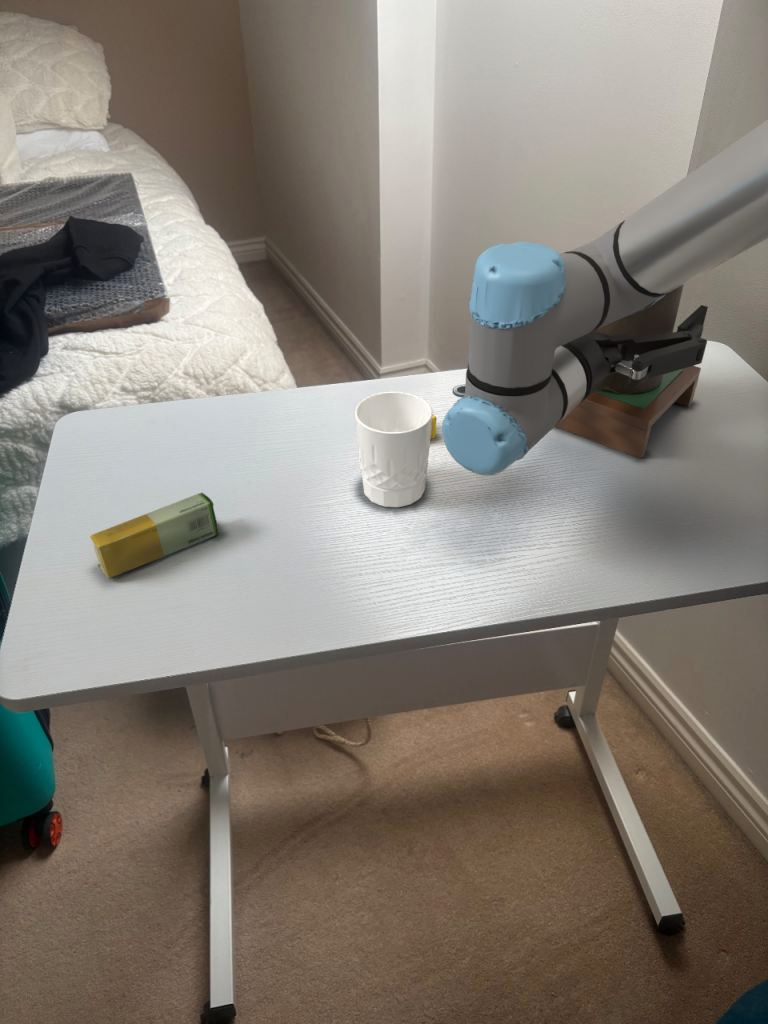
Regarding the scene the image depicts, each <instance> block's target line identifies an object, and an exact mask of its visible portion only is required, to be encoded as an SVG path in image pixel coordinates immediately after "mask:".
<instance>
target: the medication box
mask: <svg viewBox="0 0 768 1024" xmlns="http://www.w3.org/2000/svg"><path fill="white" fill-rule="evenodd" d="M214 505H215V504H214V502H213V500H212V499H211V498H210V497H209V496H208V495H207V494H205V492H199V493H196V494H194V495H191V496H189V497H185V498H184V499H181V500H178V501H176V502H173V503H171V504H168V505H165V506H163V507H160V508H158V509H154V510H152V511H150V512H148V513H145V514H143V515H140V516H137V517H135V518H132V519H129V520H127V521H124V522H121V523H119V524H117V525H113V526H111V527H109V528H106V529H103V530H101V531H97V532H95V533H93V534H91V535H90V541H91V542H92V547H93V549H94V553H95V556H96V559H97V562H98V563H97V566H98V567H97V568H98V569H100V570H101V572H102V573H103V575H104V576H106V577H107V579H111V578H114V577H116V576H119V575H121V574H124V573H127V572H129V571H131V570H134V569H136V568H138V567H141V566H143V565H145V564H148V563H152V562H153V561H155V560H158V559H161V558H163V557H166V556H168V555H170V554H173V553H175V552H178V551H180V550H182V549H185V548H188V547H190V546H193V545H195V544H198V543H199V542H202V541H204V540H207V539H210V538H212V537H214V536H219V535H220V530H219V526H218V522H217V517H216V516H217V515H216V512H215V507H214Z"/></svg>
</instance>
